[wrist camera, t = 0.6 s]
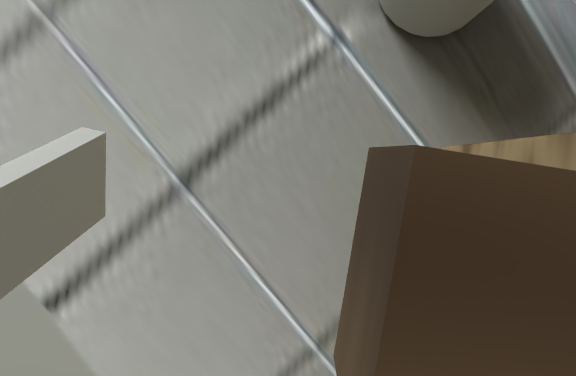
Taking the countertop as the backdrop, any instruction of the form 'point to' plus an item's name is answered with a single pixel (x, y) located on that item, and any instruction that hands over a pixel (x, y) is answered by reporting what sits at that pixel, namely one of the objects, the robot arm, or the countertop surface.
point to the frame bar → (460, 268)
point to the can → (432, 14)
